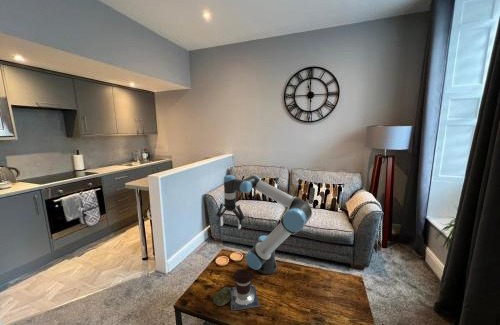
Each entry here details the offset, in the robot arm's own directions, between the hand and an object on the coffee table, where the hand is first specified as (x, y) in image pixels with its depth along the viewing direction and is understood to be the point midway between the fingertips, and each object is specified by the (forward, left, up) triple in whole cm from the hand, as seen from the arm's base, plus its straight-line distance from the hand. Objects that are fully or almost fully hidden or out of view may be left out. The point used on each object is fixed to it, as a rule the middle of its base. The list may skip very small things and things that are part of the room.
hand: (230, 226), depth 147 cm
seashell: (+7, +27, -32) cm, 42 cm away
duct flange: (-5, +28, -32) cm, 43 cm away
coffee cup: (-5, +28, -30) cm, 42 cm away
